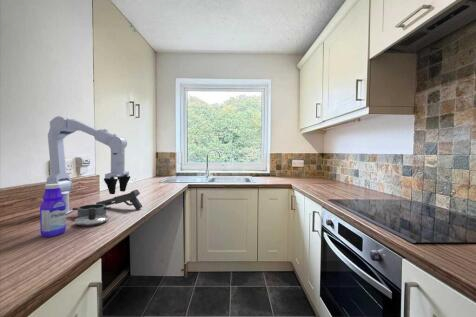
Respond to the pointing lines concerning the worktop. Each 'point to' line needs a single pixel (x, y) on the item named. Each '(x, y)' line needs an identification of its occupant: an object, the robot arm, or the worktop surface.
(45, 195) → the bottle
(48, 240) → the worktop surface
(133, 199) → the handgun
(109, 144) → the robot arm
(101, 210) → the pot
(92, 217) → the lid
